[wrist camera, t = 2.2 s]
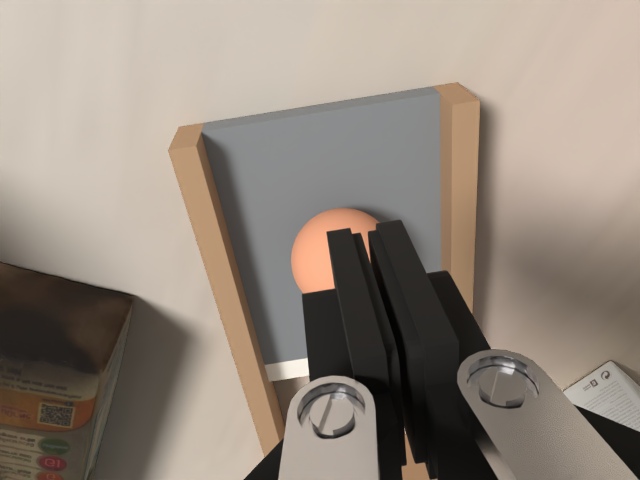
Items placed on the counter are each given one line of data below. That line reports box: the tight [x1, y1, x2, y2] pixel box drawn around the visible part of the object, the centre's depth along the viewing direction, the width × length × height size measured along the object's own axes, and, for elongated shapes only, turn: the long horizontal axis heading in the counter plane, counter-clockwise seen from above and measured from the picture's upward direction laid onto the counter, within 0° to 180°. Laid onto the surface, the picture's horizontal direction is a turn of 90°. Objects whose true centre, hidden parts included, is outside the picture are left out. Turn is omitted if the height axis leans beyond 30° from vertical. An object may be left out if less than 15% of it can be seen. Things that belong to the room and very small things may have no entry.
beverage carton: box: [0, 263, 134, 480], centre depth 29 cm, size 8×19×7 cm, turn 160°
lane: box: [168, 82, 480, 480], centre depth 29 cm, size 27×13×5 cm, turn 8°
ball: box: [291, 208, 379, 293], centre depth 24 cm, size 5×5×5 cm
